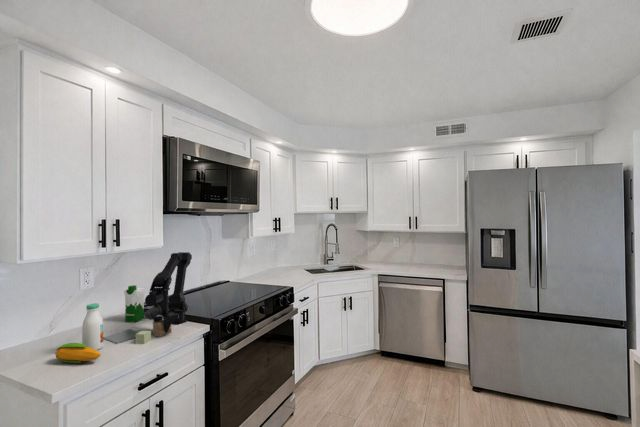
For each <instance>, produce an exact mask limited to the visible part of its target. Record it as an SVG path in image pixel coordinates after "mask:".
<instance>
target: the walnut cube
mask: <svg viewBox="0 0 640 427" xmlns="http://www.w3.org/2000/svg"><path fill="white" fill-rule="evenodd" d="M162 320H164V319H163V318H162ZM162 320H160V321H156V322H154V321H153V322H152V334H153V335H154V336H157V337H163V336H166V335H169V334H172V325H171V326H170V328H169V330H168V332H167V333H165V330H164V323H163V322H162Z"/></svg>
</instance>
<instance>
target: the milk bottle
mask: <svg viewBox="0 0 640 427" xmlns="http://www.w3.org/2000/svg"><path fill="white" fill-rule="evenodd" d="M85 307H86V314H85V316H84V318H83V321H82V326H81V327H82V328H81V329H82V331H81V332H82V333H81V334H82V335H81V338H82V339H81V340H82V341H81V342H82V343H81V344H86V345H88V346H87V347H90V348H92V349H94V350H97V351H99V350H101V349H102V348H103V347H104V339H103V337H104V319H103V318H102V315H101V314H100V311H99V309H100V303H90V304H87V305H86V306H85Z"/></svg>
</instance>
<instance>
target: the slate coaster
mask: <svg viewBox="0 0 640 427" xmlns="http://www.w3.org/2000/svg"><path fill="white" fill-rule="evenodd" d="M139 332H140V331H136V330H134V329H131V328H129V329H126V330H122V331H118V332H116V333H113V334H109V335H106V336H103V340H105V341H108V342H111V343H114V344H117V345H118V344H120V343H124V342H127V341H129V340H133V339H136V334H137V333H139Z"/></svg>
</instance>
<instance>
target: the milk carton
mask: <svg viewBox="0 0 640 427" xmlns="http://www.w3.org/2000/svg"><path fill="white" fill-rule="evenodd" d="M145 290H146V287H137V285H135V284H134V285H128V288H127V289H125V290H123V292H124V298H125V299H124V301H125V304H124V305H125V312H124V313H125V314H124V322H125V323H139V322H140V321H143V320H145V319H146V318H145V315H144V312H145V304H144V303H145Z"/></svg>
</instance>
